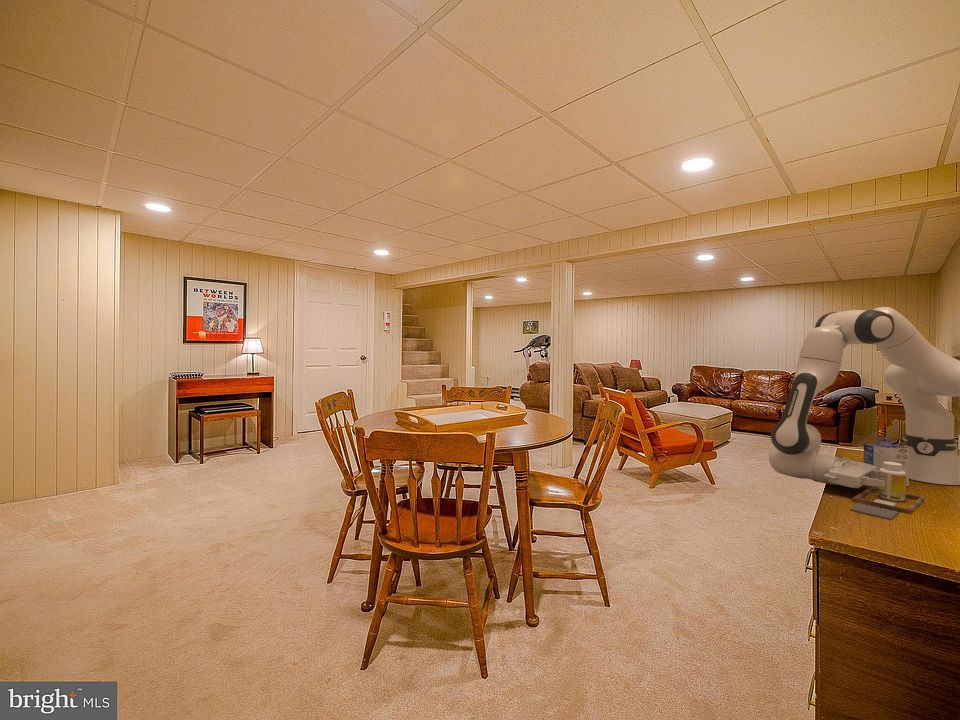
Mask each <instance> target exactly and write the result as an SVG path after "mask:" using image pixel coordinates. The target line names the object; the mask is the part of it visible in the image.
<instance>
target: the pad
mask: <svg viewBox="0 0 960 720" xmlns="http://www.w3.org/2000/svg"><path fill="white" fill-rule="evenodd" d="M849 510H850V511H851V512H854V513H855V512H856V513H859V514H863V515H868V516H871V515H872V517H875V516H877V517H876V518H880V517H881V519H884V518H885V520H888V519H889V521H892V520H893V519H894V518H895V517H896V516H898V515H899V514H900V512H898V511H894V510H889V509H885V508H880V507H876V506H871V505H867V504H862V503H858V502H857V504H856V505H853V506H852V507H850V509H849Z"/></svg>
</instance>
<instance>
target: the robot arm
mask: <svg viewBox="0 0 960 720" xmlns="http://www.w3.org/2000/svg"><path fill="white" fill-rule="evenodd" d="M863 344H865V345H873V346H875V347H876V349H877V350H878V351H879V352H880V353H881V355H882V356H883V357H884V358H885V359H886V360H887V361H888V362H889V363H890V365H889V366H888V367H887V368H886V370H885V372H884V375H883V377H884V381H885V384H886V385H887V387H888V388H890V389H891V390H892V391H894V393H896V395H897V396H898V398H899V399H900V401H901V403H902V405H903V408H904V413H905V433H904V434H903V439H902V440H903V444H904V445H903V446H904V447H907V448H909V480H913V481H918V482H921V483H922V482H924V483H928V484H934V485H935V484H937V485H948V486H960V455H958V454H957V452H956V449H957V442H956V439H955V416H954V414H953V412H952V411H950V410H949V409H947V408H945V407H944V406H943V405H942V404H941V403H940V402H939V400H938V397H937V396H941V397H942V396H943V397H954V398H955V397H960V359H956V358H955V357H952V356H950V355H949V354H947V353H946V352H943V351H942V350H940V349H938V348H937V346H934V345H933V344H931V343H930V342H929V341H928V340H927V338H925V337H924V336H923V334H922V333H921V332H920V331H919V329H917V327H915V326H914V324H913V323H911V322H910V321H909V319H907V318H906V317H905V316H904V315H903V314H901V313H900V312H899V311H897V310H896V309H894V308H893V307H889V306H880V307H876V308H873V309H868V310H865V309H851V310H850V309H849V310H843V311H832V312H831V311H830V312H828V313H825V314H823V315H822V316H821V317H819V318H818V320H817V321H816V323H815V326H814V327H813V328H812V329H810V330H808V333H807V335H806V337H805V339H804V341H803V342H802V345H801V348H800V352H799V355H798V360H797V364H796V369H795V374H794V378H793V382H792V385H791V387H790V389H789V393H788V397H787V399H786V403H785V406H784V410H783V413H782V415H781V417H780V419H779V420H778V422H777V423H776V424H775V425H774V427H773V428H772V429H771V432H770V440H771V442H772V445H773V446H774V447H773V448H772V449H770V451H769V457H768V458H769V459H768V460H769V464H770V466H771V467H772V469H773V470H774V471H775V472H777V473H779V474H782V475H784V476H786V477H787V476H788V477H792V478H797V479H802V480H803V479H808V480H812V481H813V482H817V483H822V484H826V483H827V481H828V483H827V484H826V485H831V486H837V485H838V486H839V485H840V486H842V487H848V488H852V489H860V488H861V487H863V486H869V487H874V486H875V487H879V486H880V487H884V486H886V481H885V480H882V479H874V478H879V471H877V467H876V466H874V465H871V464H866V463H864V462H862V461H856V460H852V459H846V457H844V456H839V455H838V456H833V455H826V454H820V453H819V450H820V446H821V444H822V443H821V442H822V435H821V432H820V431H819V429H818V428H816V427H815V426H814V425H812V424H809V423H807V422H808V419H809V416H810V412H811V409H812V405H813V403H814V402H813V401H814V399H815V398H816V396H817V395H819V393H820V392H822V391H823V390H824V389H826V388H829V387H830V386H832V385H833V384H834V383H835V381H836V379H837V377H838V375H839V372H840V369H841V366H842V361H843V355H844V349H845V348H846V347H847V346H848V345H863Z"/></svg>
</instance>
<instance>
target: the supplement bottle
mask: <svg viewBox="0 0 960 720" xmlns="http://www.w3.org/2000/svg"><path fill="white" fill-rule="evenodd" d="M879 479H882V480H885V481H886V486H884V487H880V486H878V488H879V492H878V495H879V497H880V498H881V499H884V500H888V501H891V502H904V501H906V494H907V490H906V489H907V486H906V473H905V472H904V471H902V464H900V463H895V462H883V468H881V469H879Z"/></svg>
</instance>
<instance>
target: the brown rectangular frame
mask: <svg viewBox="0 0 960 720" xmlns="http://www.w3.org/2000/svg"><path fill="white" fill-rule="evenodd" d="M872 491H873V492H875V491H876V493H879V487H876V486H875V487H874V486H869V487H868V488H866V489H864V490H863V491H862V492H859V493H858V494H856V495H855V496H853V497H852V503H853V502H855V503H857V504H858V503H863V504H866V505H867V504H868V505H873V506H875V507H876V506H877V507H882V508H884V509H885V508H886V509H890V510H893V511H899V513H904V514H908V515H912V513H913V512H915V510H916V509H917V508H918V507H919V506H920V505H922V504H923V503H924V502H925V496H919V495H915V494H910V493H906V498H907V499H911V500H914V502H913V503H911V504H910V505H909V506H908V507H907V508H905V507H901V506H900V507H899V506H897V505H895V506H892V505H887V504H883V503H878V502H874V500H873V501H872V500H870V499H864V498H865V497H867V496H868V495H869V494H872ZM864 496H865V497H864ZM861 498H862V499H861Z"/></svg>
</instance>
